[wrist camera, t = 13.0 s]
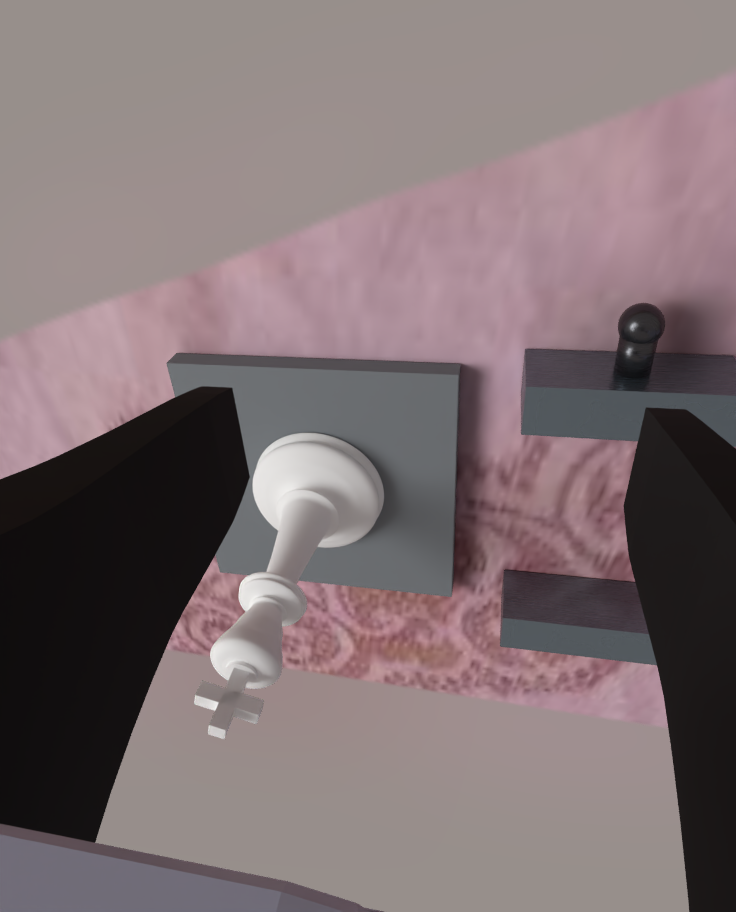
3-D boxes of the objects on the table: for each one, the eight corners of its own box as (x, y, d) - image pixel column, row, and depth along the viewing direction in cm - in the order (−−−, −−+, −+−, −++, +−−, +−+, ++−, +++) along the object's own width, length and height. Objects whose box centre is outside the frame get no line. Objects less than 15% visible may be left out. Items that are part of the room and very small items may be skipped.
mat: (460, 363, 21) (458, 375, 20) (453, 582, 26) (451, 596, 26) (176, 353, 22) (166, 363, 22) (226, 559, 28) (220, 572, 27)
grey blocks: (752, 290, 18) (782, 325, 16) (655, 614, 25) (668, 666, 23) (530, 286, 19) (532, 319, 17) (501, 598, 26) (500, 646, 24)
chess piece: (367, 552, 25) (295, 807, 17) (249, 515, 25) (122, 751, 17) (399, 456, 22) (331, 709, 14) (264, 414, 22) (121, 642, 14)
